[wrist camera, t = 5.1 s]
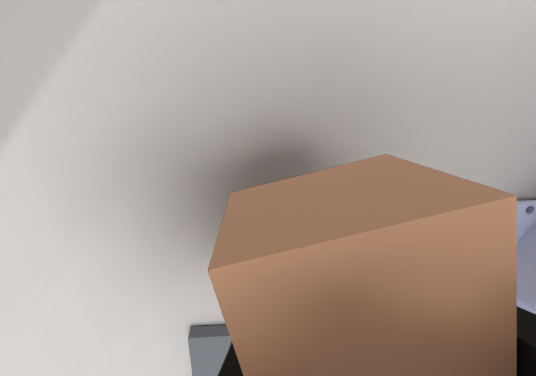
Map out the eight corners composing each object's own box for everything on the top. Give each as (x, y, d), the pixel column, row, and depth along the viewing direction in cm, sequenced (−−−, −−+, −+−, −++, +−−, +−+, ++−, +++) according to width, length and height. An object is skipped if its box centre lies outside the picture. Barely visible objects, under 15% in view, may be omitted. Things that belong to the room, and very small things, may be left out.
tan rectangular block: (385, 154, 9) (516, 195, 4) (414, 374, 11) (516, 542, 7) (230, 192, 9) (207, 270, 4) (291, 402, 11) (314, 587, 7)
